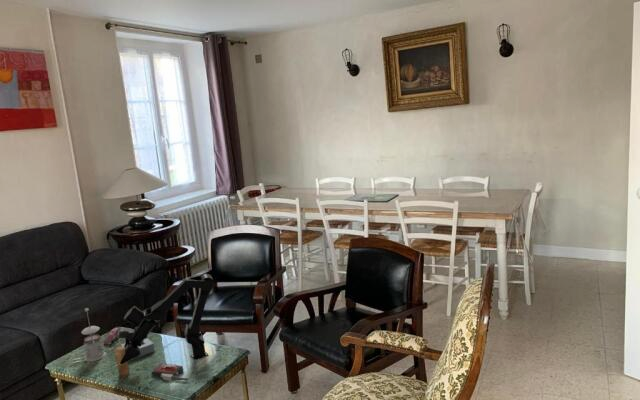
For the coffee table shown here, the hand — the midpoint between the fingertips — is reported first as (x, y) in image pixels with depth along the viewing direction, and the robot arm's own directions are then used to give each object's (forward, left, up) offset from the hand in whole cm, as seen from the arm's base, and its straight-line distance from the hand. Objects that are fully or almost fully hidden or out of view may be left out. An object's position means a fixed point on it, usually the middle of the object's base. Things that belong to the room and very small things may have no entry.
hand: (121, 359), depth 212 cm
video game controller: (+42, -7, -8) cm, 44 cm away
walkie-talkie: (-18, -16, -8) cm, 25 cm away
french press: (+31, +4, -8) cm, 32 cm away
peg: (0, 0, -8) cm, 8 cm away
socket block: (+18, -12, -8) cm, 23 cm away
